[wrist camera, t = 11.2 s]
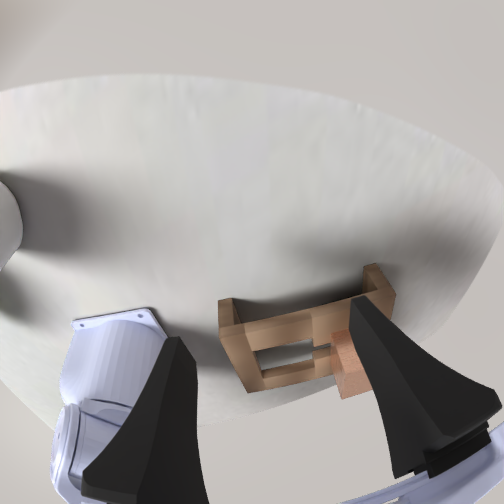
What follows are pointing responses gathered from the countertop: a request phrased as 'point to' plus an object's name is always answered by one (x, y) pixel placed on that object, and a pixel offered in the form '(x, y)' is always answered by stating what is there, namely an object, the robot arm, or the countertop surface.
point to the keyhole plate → (294, 335)
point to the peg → (347, 366)
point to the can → (9, 225)
